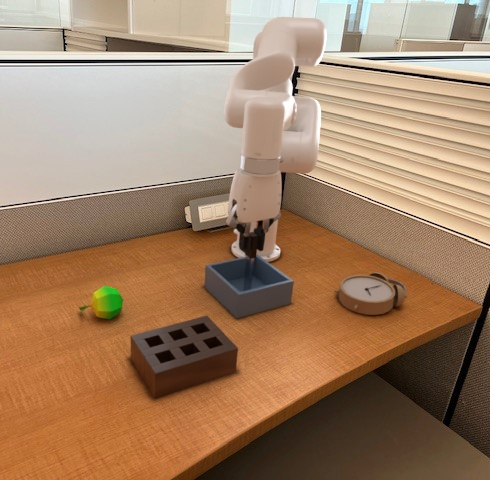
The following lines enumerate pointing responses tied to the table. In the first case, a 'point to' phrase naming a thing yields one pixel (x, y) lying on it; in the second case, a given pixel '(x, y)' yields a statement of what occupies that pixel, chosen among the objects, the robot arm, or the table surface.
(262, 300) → the bin
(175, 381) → the block
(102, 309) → the apple
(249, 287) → the knife
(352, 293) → the alarm clock
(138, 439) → the table surface
